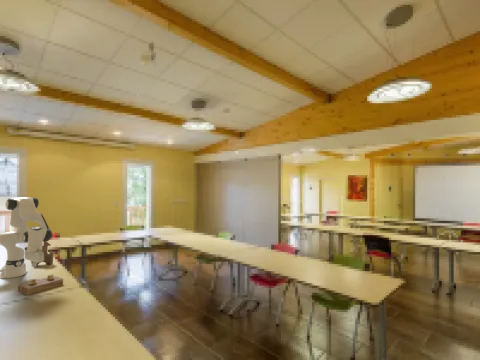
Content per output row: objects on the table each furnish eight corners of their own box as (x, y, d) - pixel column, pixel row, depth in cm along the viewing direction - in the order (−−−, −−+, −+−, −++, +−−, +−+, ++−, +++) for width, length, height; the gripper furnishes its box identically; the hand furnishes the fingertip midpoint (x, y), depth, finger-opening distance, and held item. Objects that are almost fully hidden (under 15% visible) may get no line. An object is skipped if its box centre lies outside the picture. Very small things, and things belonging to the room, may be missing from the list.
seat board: (18, 291, 189) (18, 285, 189) (53, 281, 210) (53, 275, 211) (27, 294, 183) (28, 288, 183) (62, 284, 204) (63, 278, 204)
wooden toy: (33, 267, 244) (34, 241, 245) (33, 265, 249) (34, 240, 250) (52, 264, 254) (54, 240, 255) (52, 263, 259) (54, 239, 260)
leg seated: (46, 285, 201) (46, 275, 201) (51, 283, 204) (51, 274, 205) (48, 286, 199) (49, 276, 200) (53, 284, 203) (54, 274, 203)
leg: (33, 288, 194) (34, 278, 194) (36, 289, 192) (37, 279, 192) (28, 290, 190) (28, 279, 191) (30, 291, 189) (31, 280, 189)
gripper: (47, 249, 191) (46, 267, 190) (32, 246, 200) (31, 263, 199) (37, 251, 185) (36, 269, 184) (23, 247, 194) (22, 265, 193)
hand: (33, 266), depth 192 cm, fingers closed
